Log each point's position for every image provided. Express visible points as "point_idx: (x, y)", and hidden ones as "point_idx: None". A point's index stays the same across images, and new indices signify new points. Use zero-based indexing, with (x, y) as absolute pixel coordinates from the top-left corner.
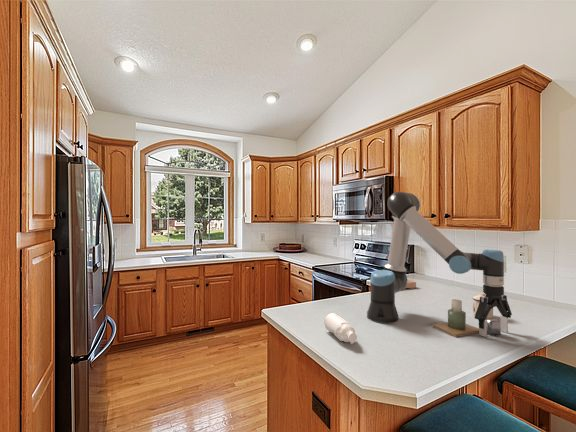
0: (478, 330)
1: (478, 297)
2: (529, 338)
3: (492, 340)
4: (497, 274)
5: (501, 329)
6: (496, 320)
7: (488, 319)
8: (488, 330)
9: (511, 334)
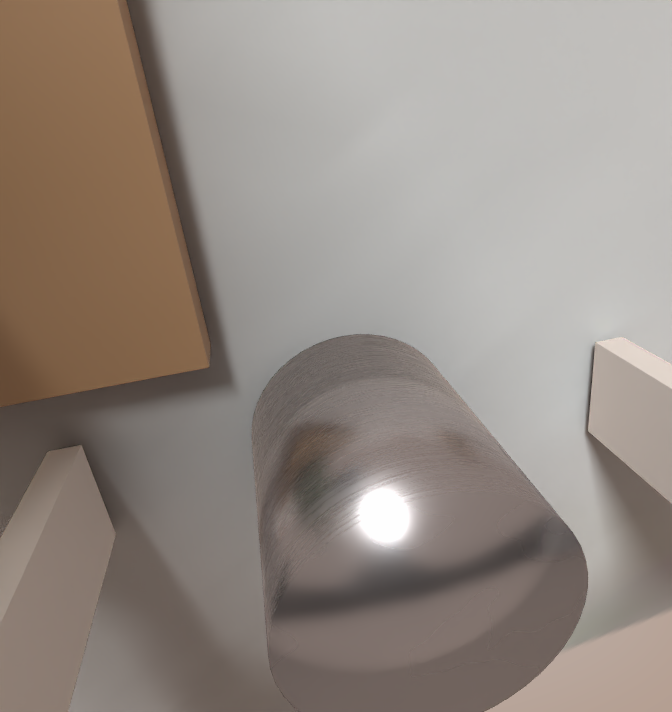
0: (105, 383)
1: None
2: (657, 578)
3: (117, 620)
4: None
5: (609, 368)
6: (506, 631)
7: (369, 569)
8: (255, 480)
9: (598, 466)
